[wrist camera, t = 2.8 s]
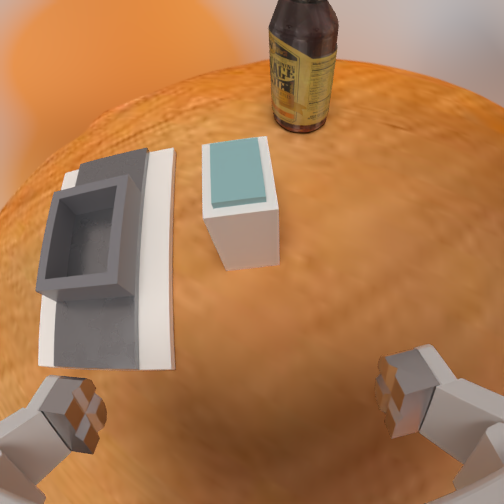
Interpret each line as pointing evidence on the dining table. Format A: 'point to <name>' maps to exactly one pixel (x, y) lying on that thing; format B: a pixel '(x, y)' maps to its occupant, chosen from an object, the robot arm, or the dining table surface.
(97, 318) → the rail holder
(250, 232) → the module block
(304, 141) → the dining table surface
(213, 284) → the dining table surface
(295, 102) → the sauce bottle
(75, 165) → the dining table surface
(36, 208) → the dining table surface
